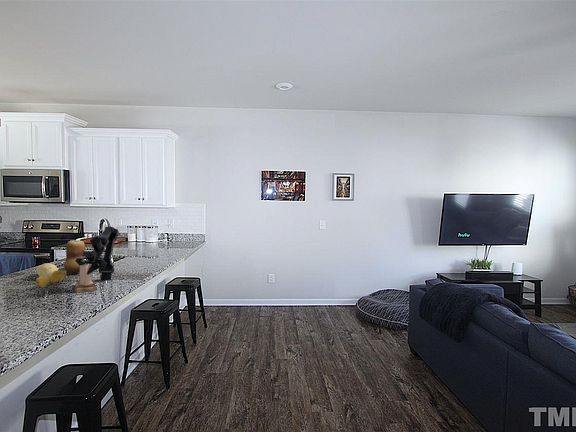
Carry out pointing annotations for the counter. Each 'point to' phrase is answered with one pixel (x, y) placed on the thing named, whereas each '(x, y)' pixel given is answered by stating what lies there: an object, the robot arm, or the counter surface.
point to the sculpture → (46, 269)
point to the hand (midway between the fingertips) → (84, 274)
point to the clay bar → (85, 274)
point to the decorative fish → (51, 278)
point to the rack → (85, 288)
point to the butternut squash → (73, 256)
